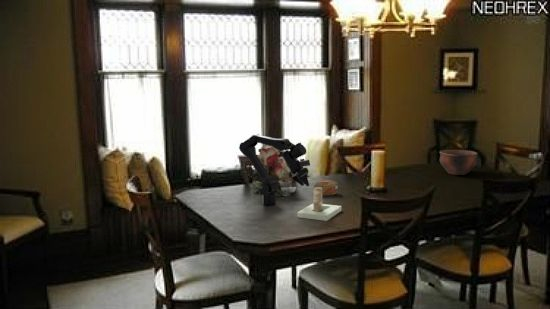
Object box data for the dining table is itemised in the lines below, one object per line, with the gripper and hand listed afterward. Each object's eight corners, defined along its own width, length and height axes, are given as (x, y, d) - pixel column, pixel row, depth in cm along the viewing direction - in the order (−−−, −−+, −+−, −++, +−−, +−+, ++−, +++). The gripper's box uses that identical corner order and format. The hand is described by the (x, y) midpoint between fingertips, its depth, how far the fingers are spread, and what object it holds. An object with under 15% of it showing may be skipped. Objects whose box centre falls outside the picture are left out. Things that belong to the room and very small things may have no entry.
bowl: (480, 171, 366) (481, 150, 363) (472, 178, 345) (473, 155, 343) (443, 168, 379) (444, 148, 376) (434, 175, 358) (434, 153, 356)
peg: (315, 216, 267) (315, 189, 265) (312, 214, 272) (312, 187, 269) (323, 215, 268) (323, 188, 266) (320, 213, 273) (320, 186, 271)
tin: (314, 196, 310) (314, 182, 308) (313, 195, 313) (312, 181, 311) (339, 194, 312) (339, 180, 311) (337, 193, 315) (337, 179, 314)
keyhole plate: (326, 220, 260) (326, 215, 259) (297, 217, 267) (297, 212, 267) (341, 210, 277) (341, 206, 276) (313, 207, 284) (313, 203, 284)
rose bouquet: (293, 197, 307) (292, 146, 302) (246, 195, 317) (244, 145, 312) (304, 187, 331) (304, 140, 326) (261, 185, 341) (259, 139, 336)
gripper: (308, 152, 274) (323, 178, 275) (298, 153, 292) (312, 177, 293) (291, 163, 271) (306, 189, 273) (281, 164, 289) (296, 188, 291)
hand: (305, 185), depth 282 cm, fingers open, 9 cm apart
